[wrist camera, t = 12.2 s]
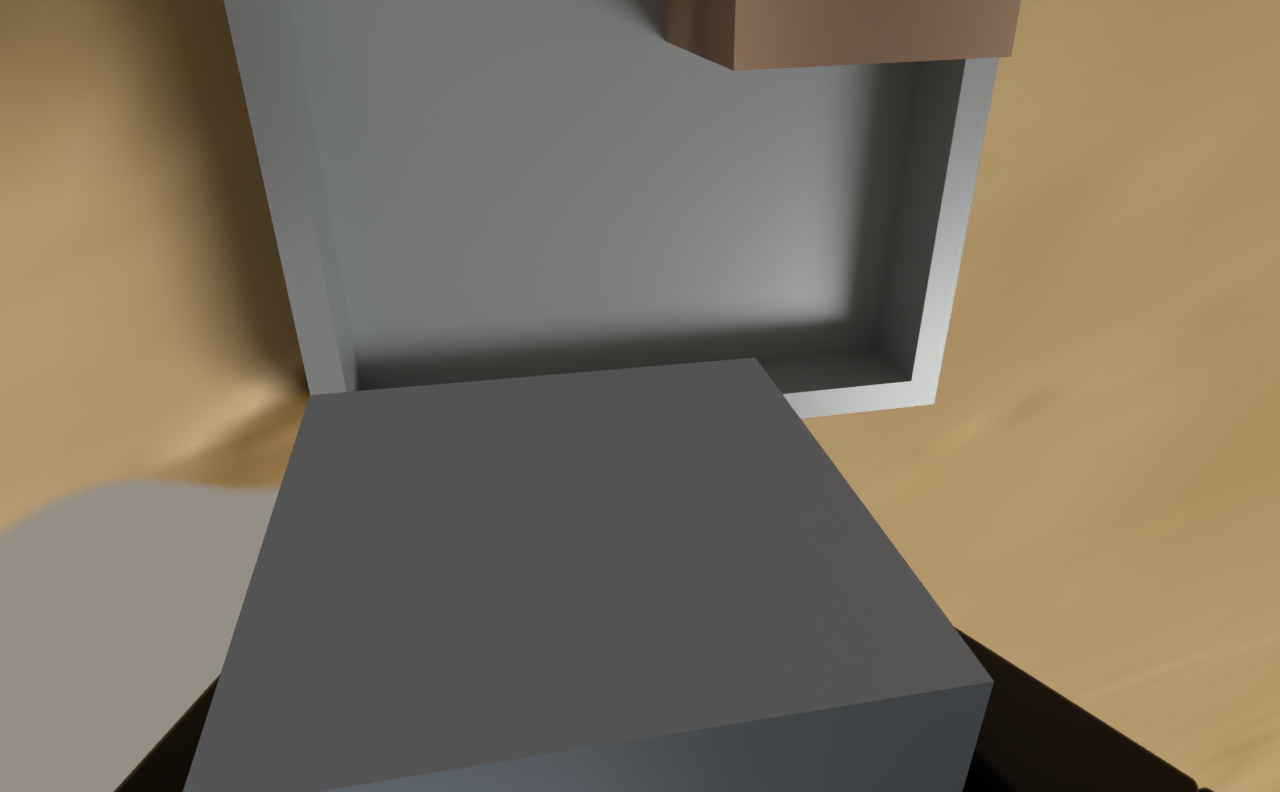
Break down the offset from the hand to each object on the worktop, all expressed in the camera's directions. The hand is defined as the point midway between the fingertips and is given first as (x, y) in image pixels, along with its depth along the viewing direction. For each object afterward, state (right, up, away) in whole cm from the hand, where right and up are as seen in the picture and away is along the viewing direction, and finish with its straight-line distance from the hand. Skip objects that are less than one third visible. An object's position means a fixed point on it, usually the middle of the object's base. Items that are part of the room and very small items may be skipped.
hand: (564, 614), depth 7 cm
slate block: (0, 0, +1) cm, 1 cm away
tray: (0, +8, +8) cm, 11 cm away
